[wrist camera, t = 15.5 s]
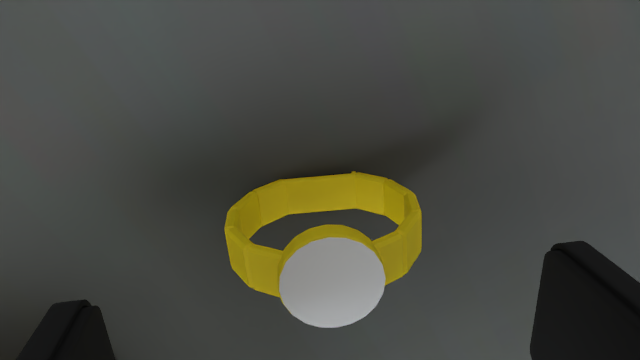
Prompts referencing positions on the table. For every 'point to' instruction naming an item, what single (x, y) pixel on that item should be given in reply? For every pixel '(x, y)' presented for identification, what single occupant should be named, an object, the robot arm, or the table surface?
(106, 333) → the robot arm
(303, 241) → the watch
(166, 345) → the table surface
